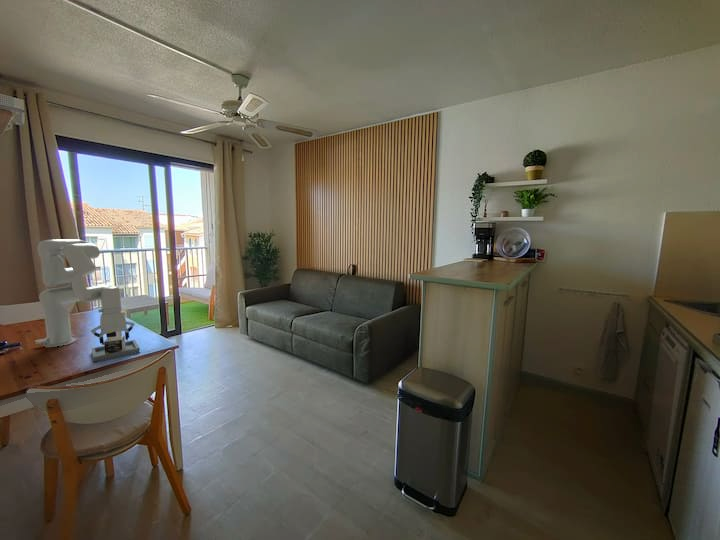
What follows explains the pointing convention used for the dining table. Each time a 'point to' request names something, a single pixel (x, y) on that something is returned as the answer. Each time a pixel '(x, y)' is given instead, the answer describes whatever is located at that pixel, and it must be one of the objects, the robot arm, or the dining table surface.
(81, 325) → the dining table surface
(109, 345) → the medicine bottle
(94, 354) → the grey tray
